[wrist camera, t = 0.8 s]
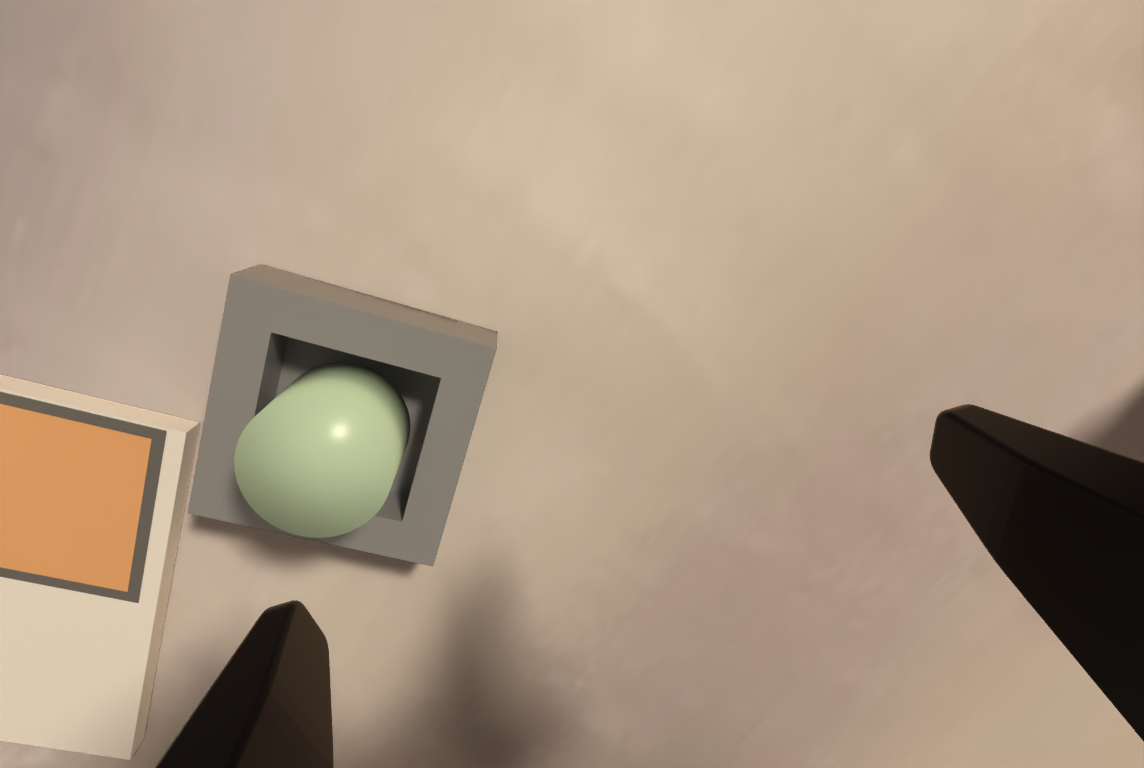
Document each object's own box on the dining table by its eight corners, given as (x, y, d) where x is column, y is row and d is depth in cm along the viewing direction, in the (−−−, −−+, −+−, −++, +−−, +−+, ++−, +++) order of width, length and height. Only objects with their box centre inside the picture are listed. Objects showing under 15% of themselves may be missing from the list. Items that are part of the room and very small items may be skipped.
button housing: (439, 530, 25) (433, 566, 22) (220, 480, 23) (187, 513, 21) (497, 331, 23) (496, 348, 20) (261, 264, 21) (230, 273, 19)
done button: (394, 495, 22) (373, 551, 19) (267, 466, 22) (222, 518, 18) (424, 382, 21) (408, 419, 18) (291, 347, 20) (249, 379, 17)
